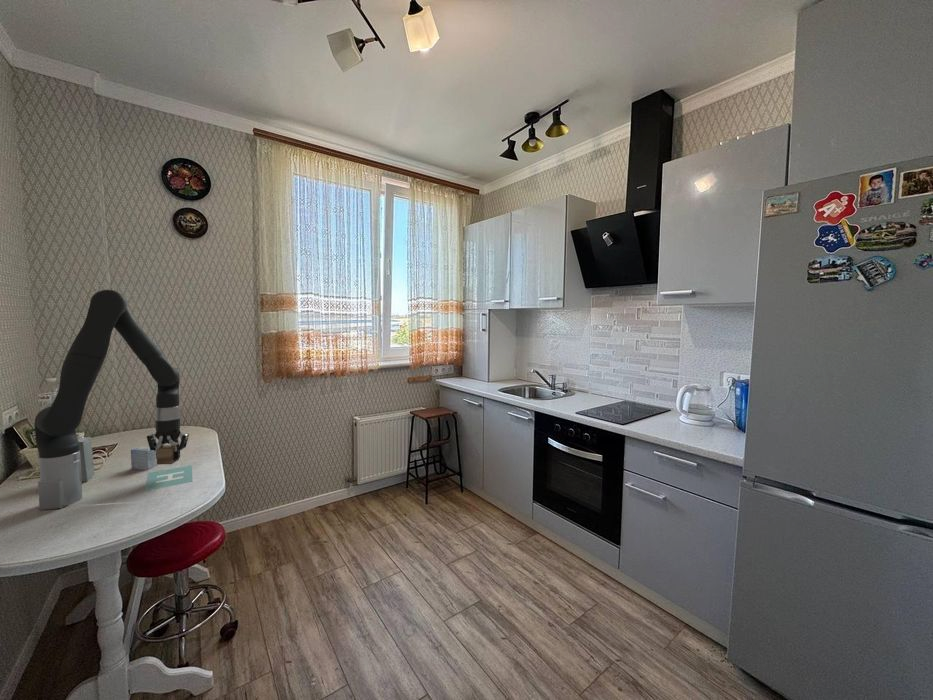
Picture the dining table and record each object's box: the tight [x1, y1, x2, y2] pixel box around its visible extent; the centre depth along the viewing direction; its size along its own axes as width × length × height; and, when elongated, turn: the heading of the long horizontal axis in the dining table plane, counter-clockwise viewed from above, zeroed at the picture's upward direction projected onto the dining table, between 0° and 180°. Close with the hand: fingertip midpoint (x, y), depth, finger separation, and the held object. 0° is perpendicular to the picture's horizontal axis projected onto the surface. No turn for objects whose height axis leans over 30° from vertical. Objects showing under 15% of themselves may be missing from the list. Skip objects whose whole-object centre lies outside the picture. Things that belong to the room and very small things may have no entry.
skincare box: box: [77, 436, 95, 483], centre depth 141 cm, size 8×7×16 cm
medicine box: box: [130, 446, 159, 471], centre depth 153 cm, size 8×4×9 cm, turn 84°
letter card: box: [144, 464, 193, 492], centre depth 144 cm, size 20×14×1 cm
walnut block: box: [157, 444, 180, 466], centre depth 143 cm, size 5×5×6 cm
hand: (168, 459), depth 143 cm, fingers closed on walnut block, 5 cm apart
